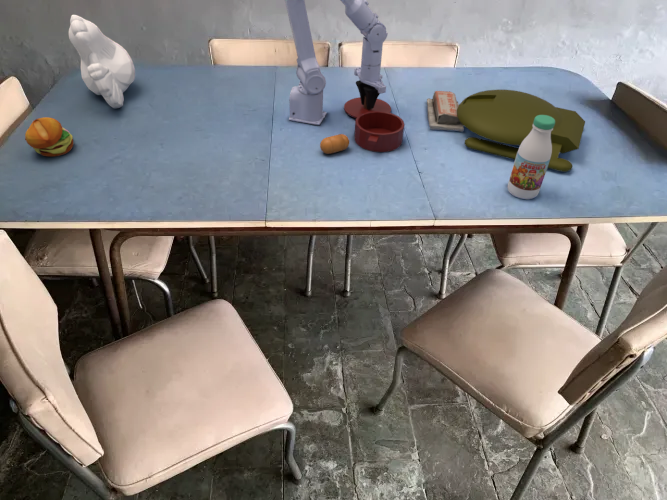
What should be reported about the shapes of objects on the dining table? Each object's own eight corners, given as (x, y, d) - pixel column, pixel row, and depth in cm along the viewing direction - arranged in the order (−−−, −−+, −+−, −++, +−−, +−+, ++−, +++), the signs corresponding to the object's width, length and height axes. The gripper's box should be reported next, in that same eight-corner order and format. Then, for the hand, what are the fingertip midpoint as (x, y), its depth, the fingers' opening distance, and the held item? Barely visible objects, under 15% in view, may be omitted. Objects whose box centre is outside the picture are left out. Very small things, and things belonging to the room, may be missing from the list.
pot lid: (338, 117, 164) (339, 103, 161) (350, 97, 174) (351, 83, 171) (385, 125, 161) (387, 110, 158) (394, 104, 172) (396, 90, 168)
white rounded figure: (89, 56, 175) (43, 9, 150) (137, 47, 174) (99, -2, 150) (95, 129, 170) (49, 92, 146) (145, 119, 170) (107, 81, 145)
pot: (346, 152, 149) (347, 134, 145) (363, 120, 163) (364, 103, 159) (395, 160, 146) (397, 142, 143) (407, 128, 160) (409, 111, 157)
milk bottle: (502, 182, 140) (523, 110, 127) (531, 182, 141) (555, 110, 128) (512, 200, 134) (535, 127, 121) (542, 199, 135) (568, 126, 122)
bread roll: (324, 158, 146) (325, 143, 143) (317, 150, 149) (317, 136, 146) (351, 151, 149) (352, 137, 146) (343, 143, 152) (344, 129, 149)
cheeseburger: (85, 142, 148) (70, 113, 140) (62, 169, 142) (44, 141, 134) (54, 134, 150) (37, 105, 142) (30, 161, 144) (10, 132, 136)
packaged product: (428, 88, 170) (460, 90, 170) (425, 102, 173) (457, 104, 173) (431, 115, 156) (466, 117, 156) (429, 130, 160) (463, 132, 159)
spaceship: (582, 126, 165) (593, 95, 158) (569, 176, 143) (582, 143, 137) (468, 100, 175) (474, 71, 169) (440, 143, 154) (446, 111, 148)
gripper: (396, 69, 155) (391, 113, 163) (369, 51, 164) (366, 94, 173) (375, 73, 152) (371, 118, 161) (349, 55, 161) (347, 98, 170)
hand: (367, 106), depth 167 cm, fingers closed on pot lid, 2 cm apart
